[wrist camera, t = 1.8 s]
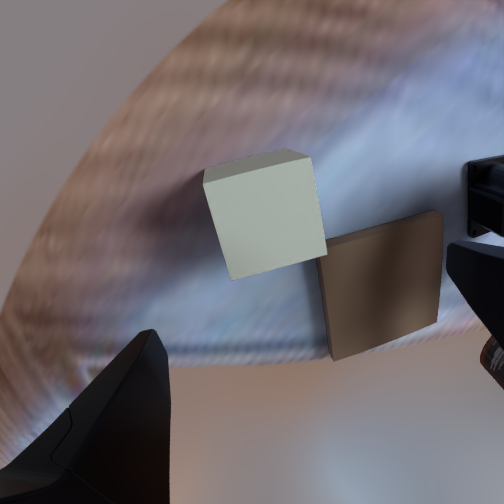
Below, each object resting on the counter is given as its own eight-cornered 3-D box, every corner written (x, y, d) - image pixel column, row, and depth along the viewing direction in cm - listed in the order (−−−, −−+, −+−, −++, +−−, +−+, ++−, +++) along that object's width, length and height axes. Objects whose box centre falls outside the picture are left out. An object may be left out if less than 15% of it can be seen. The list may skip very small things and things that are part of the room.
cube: (286, 148, 19) (310, 156, 14) (301, 223, 21) (327, 254, 16) (204, 168, 18) (202, 184, 14) (226, 243, 20) (231, 280, 16)
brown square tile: (433, 209, 21) (443, 214, 20) (429, 314, 25) (436, 322, 24) (313, 243, 21) (318, 250, 20) (329, 352, 25) (333, 361, 24)
